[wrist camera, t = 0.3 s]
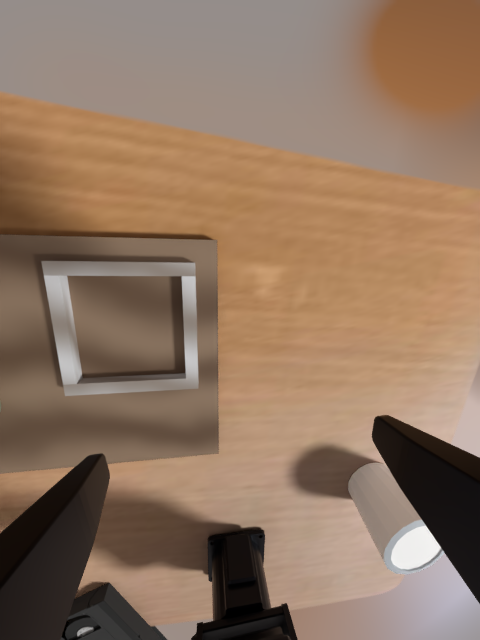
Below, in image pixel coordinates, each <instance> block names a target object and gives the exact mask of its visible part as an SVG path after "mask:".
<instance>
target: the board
mask: <svg viewBox="0 0 480 640" xmlns="http://www.w3.org/2000/svg"><path fill="white" fill-rule="evenodd" d="M0 402H1V411H0V474H2V473H13V472H24V471H35V470H46V469H56V468H67V467H76V466H77V465H78V464H79V463H80V462H81V461H82V460H83V459H85V458H86V457H87V456H89V455H91V454H99V453H103V454H104V455H105V457H106V461H107V464H111V463H121V462H132V461H143V460H154V459H165V458H175V457H186V456H197V455H208V454H219V436H218V292H217V240H195V239H156V238H117V237H79V236H40V235H2V234H0Z"/></svg>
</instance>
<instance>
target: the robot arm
mask: <svg viewBox="0 0 480 640" xmlns="http://www.w3.org/2000/svg"><path fill="white" fill-rule="evenodd" d="M372 439H373V442H374V444H375V446H376V447H377V449H378V451H379V453H380V454H381V456H382V458H383V460H384V461H385V463H386V465H387V467H388V468H389V470H390V472H391V474H392V475H393V477H394V479H395V480H396V482H397V484H398V485H399V487H400V489H401V490H402V492H403V493H404V495H405V496H406V498H407V499H408V500H409V502H410V503H411V505H412V506H413V508H414V509H415V511H416V512H417V514H418V515H419V516H420V518H421V519H422V521H423V522H424V524H425V525H426V527H427V528H428V529H429V531H430V532H431V534H432V535H433V537H434V538H435V540H436V541H437V542H438V544H439V545H440V547H441V548H442V550H443V551H444V553H445V554H446V555H447V557H448V558H449V560H450V561H451V563H452V564H453V566H454V567H455V568H456V570H457V571H458V573H459V574H460V576H461V577H462V579H463V580H464V582H465V583H466V585H467V586H468V587H469V589H470V590H471V592H472V593H473V595H474V596H475V598H476V599H477V600H478V602H479V603H480V458H479V457H477V456H475V455H473V454H470V453H468V452H466V451H464V450H462V449H460V448H457V447H455V446H453V445H451V444H449V443H447V442H445V441H442V440H440V439H438V438H436V437H434V436H432V435H430V434H427V433H425V432H423V431H421V430H419V429H417V428H414V427H412V426H410V425H408V424H406V423H404V422H402V421H399V420H397V419H395V418H393V417H391V416H389V415H382V416H377V417H375V419H374V425H373V431H372ZM109 479H110V473H109V469H108V465H107V461H106V457H105V455H104V454H103V453H99V454H91V455H89V456H87V457H86V458H85V459H83V460H82V461H81V462H80V463H79V464H78V465H77V466H76V467H74V468H73V469H72V470H71V471H70V472H69V473H68V474H67V475H65V476H64V477H63V478H62V479H61V480H60V481H59V482H58V483H56V484H55V485H54V486H53V487H52V488H51V489H50V490H48V491H47V492H46V493H45V494H44V495H43V496H42V497H41V498H39V499H38V500H37V501H36V502H35V503H34V504H33V505H32V506H30V507H29V508H28V509H27V510H26V511H25V512H24V513H23V514H21V515H20V516H19V517H18V518H17V519H16V520H15V521H14V522H12V523H11V524H10V525H9V526H8V527H7V528H6V529H4V530H3V531H2V532H1V533H0V640H60V639H61V636H62V633H63V631H64V628H65V625H66V622H67V619H68V616H69V613H70V610H71V607H72V604H73V602H74V599H75V596H76V593H77V590H78V587H79V584H80V581H81V578H82V576H83V573H84V570H85V567H86V564H87V561H88V558H89V555H90V552H91V549H92V546H93V543H94V540H95V536H96V532H97V529H98V525H99V521H100V517H101V513H102V508H103V504H104V500H105V496H106V492H107V488H108V484H109ZM264 543H265V534H264V531H263V530H253V531H246V532H238V533H231V534H224V535H217V536H211V537H209V538H208V575H209V581H211V582H212V596H213V621H211V622H207V623H203V622H201V623H197V632H196V634H195V635H194V636H193V637H192V638H191V640H297V637H296V633H295V630H294V626H293V623H292V619H291V616H290V612H289V609H288V605H287V603H285V604H281V606H278V607H274V608H271V605H270V599H269V594H268V589H267V584H266V578H265V573H264V568H263V562H264Z"/></svg>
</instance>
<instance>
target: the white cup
mask: <svg viewBox="0 0 480 640" xmlns="http://www.w3.org/2000/svg"><path fill="white" fill-rule="evenodd" d="M348 491H349V493H350V495H351V497H352V499H353V501H354V503H355V505H356V507H357V509H358V511H359V513H360V515H361V517H362V519H363V521H364V523H365V525H366V527H367V529H368V531H369V533H370V535H371V537H372V539H373V541H374V543H375V545H376V547H377V549H378V551H379V553H380V555H381V557H382V559H383V560H384V562H385V564H386V566H387V568H388V569H389V570H391V571H393V572H394V573H396V574H411V573H415V572H419V571H421V570H423V569H425V568H427V567H429V566H431V565H432V564H434V563H435V562H436V561H437V560H438V559H439V558H440V557H441V556H442V555H443V554H444V551H443V550H442V548H441V547H440V545H439V544H438V542H437V541H436V540H435V538H434V537H433V535H432V534H431V532H430V531H429V529H428V528H427V527H426V525H425V524H424V522H423V521H422V519H421V518H420V516H419V515H418V514H417V512H416V511H415V509H414V508H413V506H412V505H411V503H410V502H409V500H408V499H407V498H406V496H405V495H404V493H403V492H402V490H401V489H400V487H399V485H398V484H397V482H396V480H395V479H394V477H393V475H392V474H391V472H390V470H389V468H388V467H387V466H386V465H384V464H382V463H377V462H375V463H369V464H366V465H364V466H362V467H360V468H358V469H357V470H356V471H355V472H354V473H353V474H352V476H351V478H350V480H349V482H348Z"/></svg>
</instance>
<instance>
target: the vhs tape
mask: <svg viewBox="0 0 480 640" xmlns="http://www.w3.org/2000/svg"><path fill="white" fill-rule="evenodd" d="M69 619H70V620H69ZM67 620H69V623H68V626H67V628H66V631H65V632H64V631H63V633H62V636H61V639H60V640H167V639H166V638H165V636H164V635H163V634H162V633H161V632H160V631H159V630H158V629H157V628H156V627H155V626H149V625H148V624H147V623H146V621H145V620H144V619H143V618H142V617H141V616H140V615H139V614H138V613H137V612H136V611H135V610H134V609H133V608H132V606H131V605H130V604H129V603H128V602H127V601H126V600H125V599H124V598H123V597H122V596H121V595H120V594H119V592H118V591H117V590H116V589H115V588H114V587H113V586H112V585H111V584H110V583H107V584H105V585H103V586H101V587H99V588H97V589H95V590H93V591H91V592H88V593H86V594H84V595H82V596H80V597H78V598H76V599H74V602H73V604H72V607H71V610H70V613H69V616H68V619H67Z"/></svg>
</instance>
